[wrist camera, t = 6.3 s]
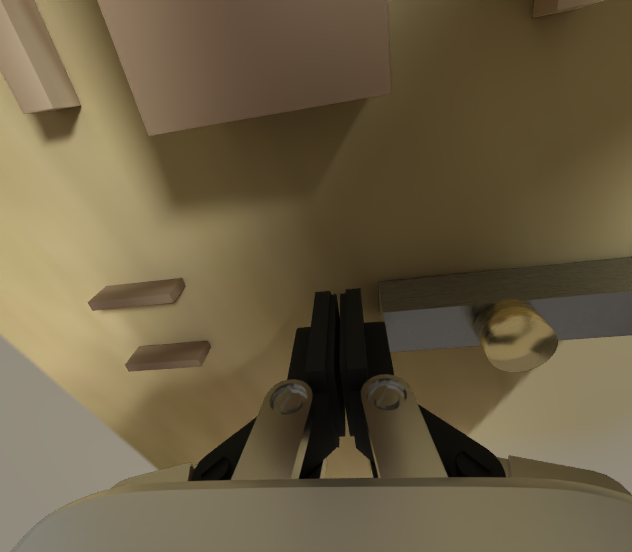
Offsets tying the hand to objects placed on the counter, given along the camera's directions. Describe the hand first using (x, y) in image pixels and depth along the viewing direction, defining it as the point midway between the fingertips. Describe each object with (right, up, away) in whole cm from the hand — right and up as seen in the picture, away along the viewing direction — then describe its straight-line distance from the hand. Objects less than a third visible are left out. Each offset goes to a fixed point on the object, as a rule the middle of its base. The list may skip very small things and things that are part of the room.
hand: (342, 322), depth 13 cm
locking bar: (+7, +1, 0) cm, 8 cm away
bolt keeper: (-8, 0, +2) cm, 8 cm away
